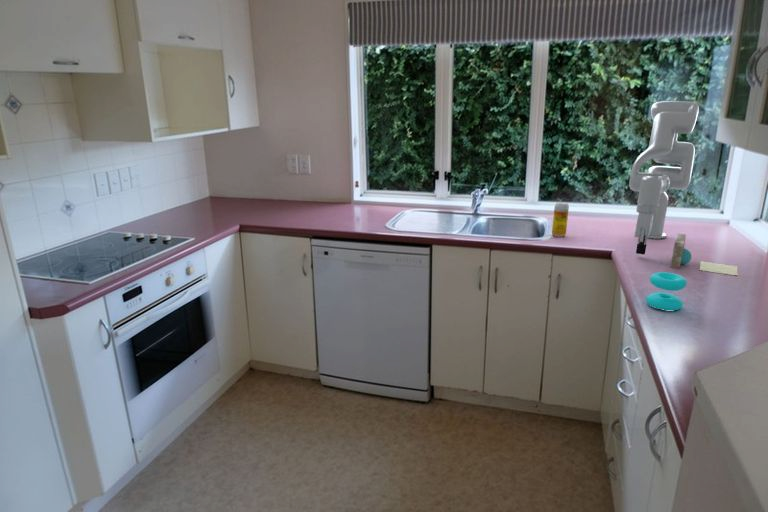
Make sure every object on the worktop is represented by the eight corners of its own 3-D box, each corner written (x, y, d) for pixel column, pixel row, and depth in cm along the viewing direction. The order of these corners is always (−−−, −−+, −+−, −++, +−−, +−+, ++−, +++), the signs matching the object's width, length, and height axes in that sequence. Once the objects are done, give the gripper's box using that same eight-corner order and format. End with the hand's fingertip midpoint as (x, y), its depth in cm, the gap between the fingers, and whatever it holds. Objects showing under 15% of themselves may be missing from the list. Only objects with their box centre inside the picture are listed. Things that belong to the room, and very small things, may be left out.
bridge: (670, 267, 201) (674, 242, 198) (673, 256, 213) (677, 233, 210) (679, 268, 199) (683, 243, 196) (682, 257, 212) (686, 234, 209)
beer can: (556, 237, 240) (560, 205, 235) (549, 234, 246) (552, 202, 241) (568, 236, 242) (571, 204, 237) (560, 233, 247) (564, 201, 243)
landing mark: (700, 261, 207) (700, 261, 207) (737, 266, 201) (737, 266, 201) (699, 270, 197) (699, 269, 197) (737, 276, 191) (737, 275, 191)
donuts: (680, 271, 166) (692, 283, 156) (675, 301, 169) (686, 314, 159) (646, 270, 167) (656, 280, 158) (641, 299, 170) (651, 311, 161)
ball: (679, 264, 208) (670, 252, 208) (694, 256, 204) (685, 244, 205) (679, 268, 203) (669, 255, 203) (695, 260, 199) (685, 247, 200)
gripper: (639, 204, 215) (632, 247, 220) (634, 211, 202) (627, 256, 208) (660, 206, 211) (652, 250, 216) (656, 213, 199) (648, 260, 204)
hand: (640, 253), depth 212 cm, fingers closed
